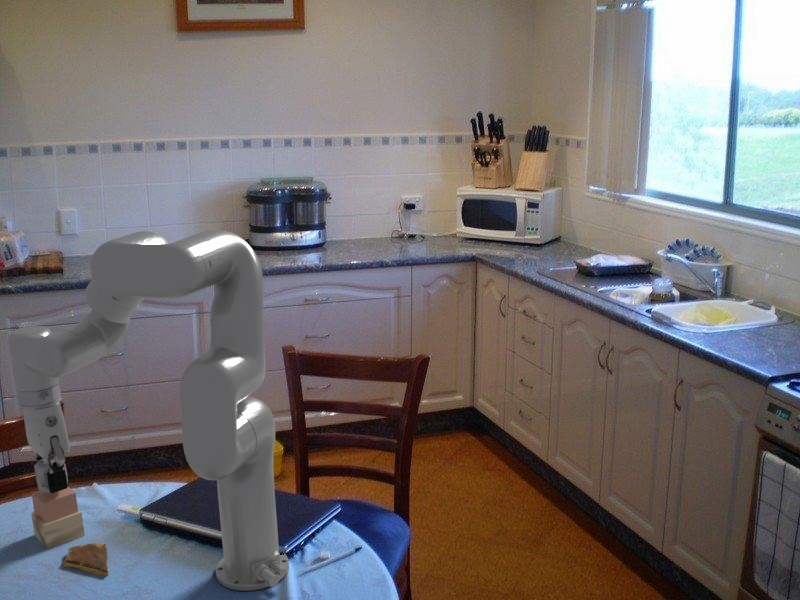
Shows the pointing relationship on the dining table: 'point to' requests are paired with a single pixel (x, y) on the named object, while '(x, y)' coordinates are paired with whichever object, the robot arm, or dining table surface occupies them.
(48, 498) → the tower top
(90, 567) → the shard
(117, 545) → the dining table surface
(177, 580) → the dining table surface
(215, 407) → the robot arm
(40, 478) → the die
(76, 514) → the tower base
